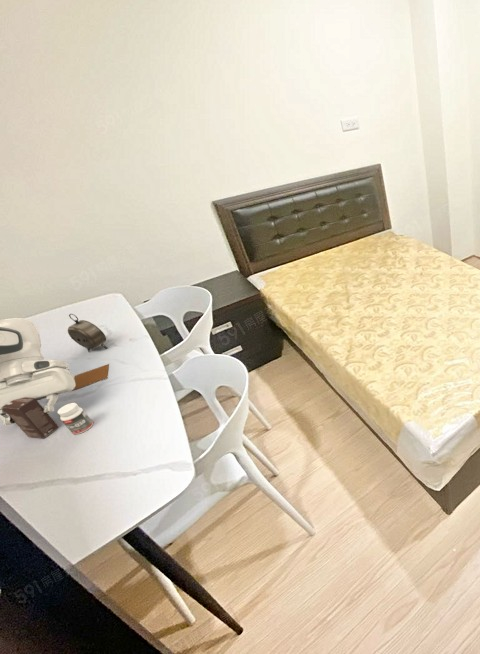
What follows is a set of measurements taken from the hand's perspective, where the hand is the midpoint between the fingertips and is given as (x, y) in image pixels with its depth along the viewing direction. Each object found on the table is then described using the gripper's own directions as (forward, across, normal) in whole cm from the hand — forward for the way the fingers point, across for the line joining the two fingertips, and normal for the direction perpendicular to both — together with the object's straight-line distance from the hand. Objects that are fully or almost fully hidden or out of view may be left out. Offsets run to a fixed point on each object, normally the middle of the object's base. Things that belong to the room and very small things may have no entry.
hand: (29, 418), depth 113 cm
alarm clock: (-26, +2, +35) cm, 44 cm away
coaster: (-12, +5, +21) cm, 25 cm away
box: (+4, 0, +5) cm, 7 cm away
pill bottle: (+7, +10, +2) cm, 12 cm away
